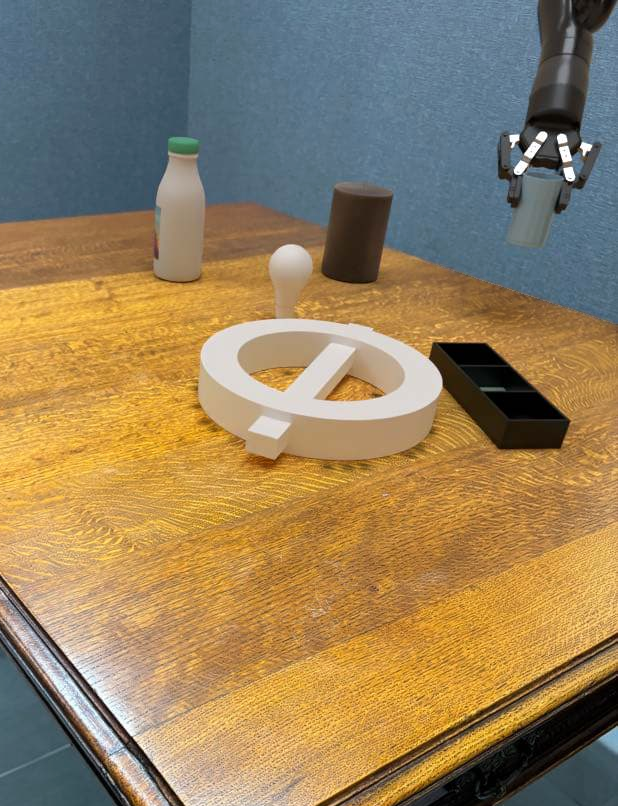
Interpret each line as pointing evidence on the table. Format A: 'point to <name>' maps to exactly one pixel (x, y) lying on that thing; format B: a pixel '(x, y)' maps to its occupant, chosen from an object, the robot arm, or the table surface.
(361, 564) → the table surface
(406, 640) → the table surface
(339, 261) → the pillar candle
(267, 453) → the ring with crossbar
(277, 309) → the lightbulb
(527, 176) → the cup
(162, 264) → the milk bottle
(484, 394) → the rack
